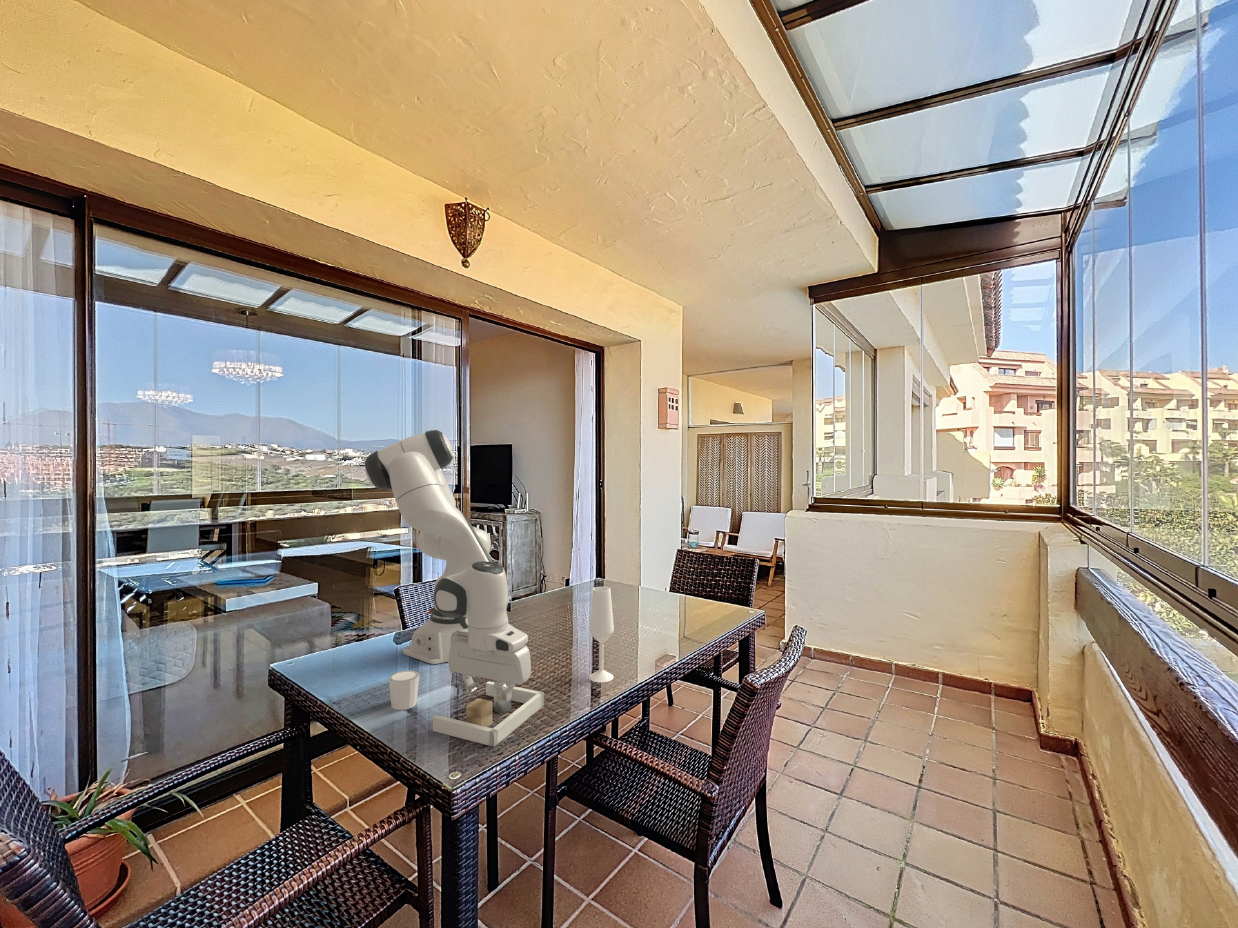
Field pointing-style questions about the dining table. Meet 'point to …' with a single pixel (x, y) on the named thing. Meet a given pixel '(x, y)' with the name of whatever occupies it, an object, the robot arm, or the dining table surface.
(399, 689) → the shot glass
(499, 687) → the steel part
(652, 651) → the dining table surface
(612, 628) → the champagne flute
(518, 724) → the frame
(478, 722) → the oak block
